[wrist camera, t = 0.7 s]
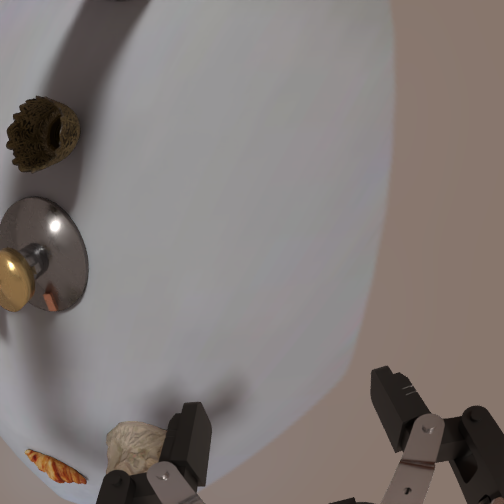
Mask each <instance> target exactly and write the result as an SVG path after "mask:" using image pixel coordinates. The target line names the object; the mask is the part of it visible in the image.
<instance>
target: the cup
mask: <svg viewBox="0 0 504 504" xmlns="http://www.w3.org/2000/svg"><path fill="white" fill-rule="evenodd" d="M25 102H26V103H24V104H22V105H20V106H19V108H20V111H21V112H20V113H16V114H13V119H14V120H15V121H14V122H13V123H12V124H11V125H10V126H9V127H8V129H7V135H8V138H9V141H8V142H7V144H6V147H7V149H10V150H13V155H14V156H15V159H14V160H12V163H13V164H14V165H17V166H18V169H19V170H20V171H21V172H31V173H35V172H37V171H40V170H42V169H45V168H47V167H49V166H51V165H54V164H56V163H58V162H60V161H62V160H63V159H65V158H66V157H67V156H68V155H69V154H70V153H71V152H72V151H73V149H74V148H75V146H76V144H77V142H78V140H79V137H80V133H81V129H80V125H79V120H78V118H77V116H76V114H75V113H74V111H73V110H72V109H70V108H69V107H68V106H66V105H64V104H62V103H60V102H57V101H55V100H52V99H49V98H48V97H41V96H36V99H29V100H26V101H25Z"/></svg>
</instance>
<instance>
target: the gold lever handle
mask: <svg viewBox="0 0 504 504" xmlns="http://www.w3.org/2000/svg"><path fill="white" fill-rule="evenodd" d="M34 292H35V279H34V275H33V272H32V270H31V267H30V265H29V264H28V262H27V261H26V259H25V258H24V257H23V256H22V255H21V254H20V253H19V252H18V251H16V250H15V249H13V248H3V249H2V250H0V306H2V307H3V308H4V309H6V310H8V311H12V312H16V311H19V310H20V309H21V308H22V307H23V306H24V305H25V304H26V303H27V302H28V301H29V300H30V299H31V298H32V297H33V295H34Z"/></svg>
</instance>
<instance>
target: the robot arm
mask: <svg viewBox="0 0 504 504" xmlns="http://www.w3.org/2000/svg"><path fill="white" fill-rule="evenodd" d="M371 400H372V403H373V405H374V408H375V410H376V412H377V414H378V416H379V418H380V420H381V423H382V425H383V427H384V429H385V431H386V433H387V436H388V438H389V440H390V442H391V445H392V447H393V449H394V451H395V453H397V452H399V451H403V456H402V459H401V460H400V462H399V464H398V467H397V469H396V471H395V474H394V476H393V478H392V481H391V483H390V485H389V487H388V489H387V492H386V493H385V496H384V498H383V500H382V502H381V504H423V501H424V499H425V496H426V493H427V491H428V488H429V485H430V482H431V479H432V476H433V473H434V470H435V463H437V462H443V461H449V463H450V465H451V467H452V469H453V471H454V474H455V476H456V478H457V480H458V483H459V485H460V487H461V490H462V492H463V494H464V497H465V499H466V502H467V504H504V434H503V432H502V431H501V429H500V428H499V426H498V425H497V423H496V422H495V420H494V419H493V417H492V416H491V415H490V413H489V412H488V410H487V409H486V408H484V407H482V406H471V407H469V408H467V409H466V410H465V411H464V413H463V415H462V416H460V417H454V418H448V419H442V418H441V417H440V416H438V415H436V414H432V413H431V412H430V411H429V409H428V408H427V406H426V405H425V403H424V402H423V400H422V398H421V397H420V395H419V394H418V392H416V389H415V388H414V386H412V383H411V382H410V381H409V379H408V377H406V376H404V375H403V374H401V373H400V372H399V373H396V374H393V373H392V371H391V370H390V368H389V367H388V366H384V367H381V368H377V369H374V370H372V372H371ZM167 430H168V431H167V432H166V438H165V440H164V443H163V447H162V450H161V454H160V458H159V461H158V463H155V464H153V465H152V466H151V467H150V468H149V469H148V471H147V472H145V473H140V474H135V475H129V474H128V473H127V472H125V471H123V470H113V471H110V472H109V473H108V474H106V476H105V477H104V479H103V482H102V485H101V488H100V492H99V495H98V498H97V502H96V504H205V503H204V502H203V501H202V499H201V498H200V497H199V496H198V495H197V486H205V484H206V476H207V468H208V459H209V451H210V443H211V435H212V428H211V423H210V421H209V418H208V416H207V414H206V412H205V410H204V407H203V405H202V403H201V402H190V403H184V405H183V409H182V413H177V414H175V415H174V416H173V418H172V419H171V420H170V422H169V425H168V429H167ZM329 504H374V503H368V502H355V498H354V497H353V498H349V499H346V500H342V501H337V502H334V503H329Z"/></svg>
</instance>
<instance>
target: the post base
mask: <svg viewBox="0 0 504 504" xmlns="http://www.w3.org/2000/svg"><path fill="white" fill-rule="evenodd" d="M3 248H13V249H15V250H16V251H18V252H19V253H20V254H21V255H22V256H23V257H24V258H25V259H26V261H27V262H28V264H29V265H30V267H31V270H32V272H33V275H34V279H35V292H34V295H33V297H32V298H31V299H30V300H29V301H28V302H29V303H31V304H32V305H34V306H36V307H38V308H40V309H43V310H47V311H62V310H65V309H67V308H69V307H71V306H72V305H73V304H74V303H75V302H76V301H77V300H78V298H79V297H80V296H81V295H82V293H83V291H84V289H85V287H86V284H87V279H88V271H89V270H88V256H87V252H86V247H85V244H84V241H83V239H82V236H81V234H80V232H79V230H78V228H77V227H76V225H75V223H74V222H73V220H72V219H71V218H70V217H69V215H68V214H67V213H66V212H65V211H64V210H63V209H62V208H61V207H59V206H58V205H57V204H55V203H54V202H52V201H50V200H48V199H45V198H41V197H29V198H25V199H22V200H20V201H18V202H16V203H14V204H13V205H12V206H11V207H10V208H9V209H8V210H7V211H6V213H5V215H4V217H3V219H2V221H1V224H0V250H2V249H3Z"/></svg>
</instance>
